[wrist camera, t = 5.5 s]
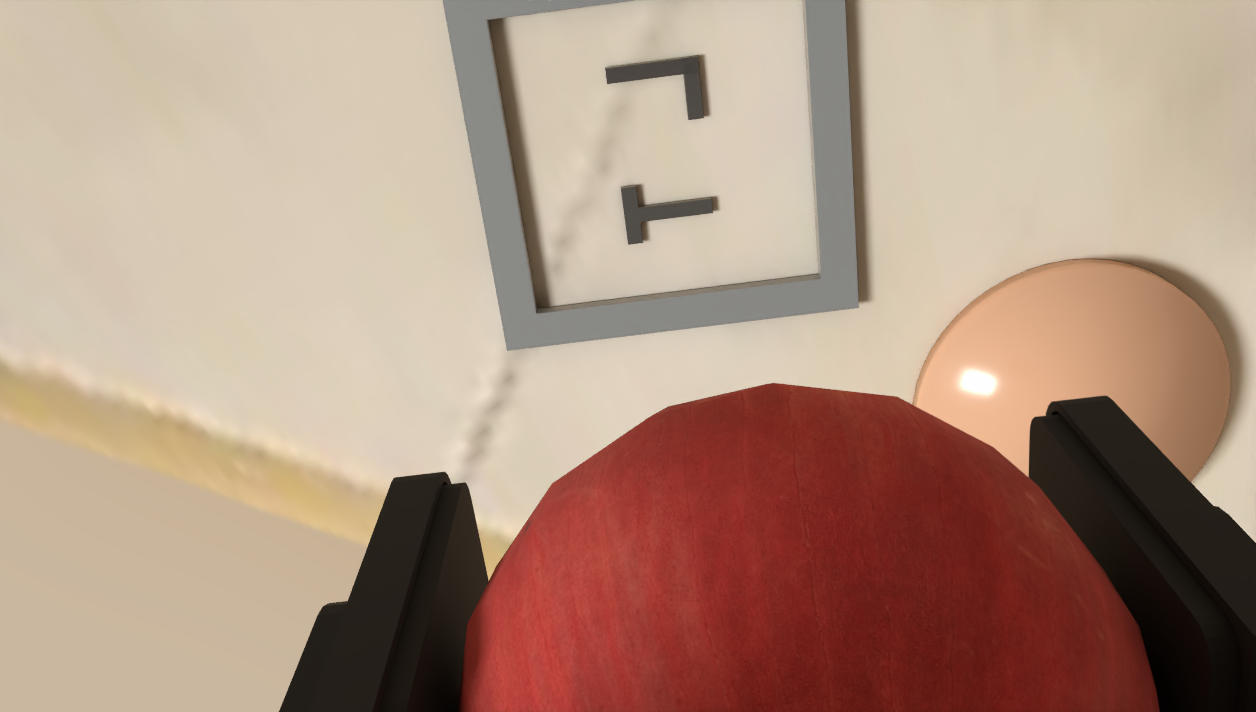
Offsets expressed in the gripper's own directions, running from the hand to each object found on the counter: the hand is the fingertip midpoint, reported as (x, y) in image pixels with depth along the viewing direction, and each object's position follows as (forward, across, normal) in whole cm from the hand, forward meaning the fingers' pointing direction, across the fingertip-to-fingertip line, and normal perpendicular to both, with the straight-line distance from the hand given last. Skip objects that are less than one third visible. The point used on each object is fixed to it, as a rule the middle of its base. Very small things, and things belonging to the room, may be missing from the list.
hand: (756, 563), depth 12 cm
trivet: (+19, -11, +9) cm, 24 cm away
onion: (+1, 0, 0) cm, 1 cm away
